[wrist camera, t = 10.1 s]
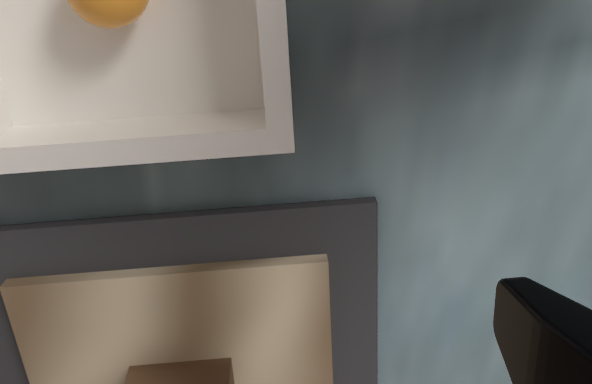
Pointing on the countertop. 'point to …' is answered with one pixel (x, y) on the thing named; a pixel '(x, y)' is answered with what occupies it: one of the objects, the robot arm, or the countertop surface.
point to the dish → (141, 82)
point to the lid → (177, 324)
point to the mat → (215, 248)
